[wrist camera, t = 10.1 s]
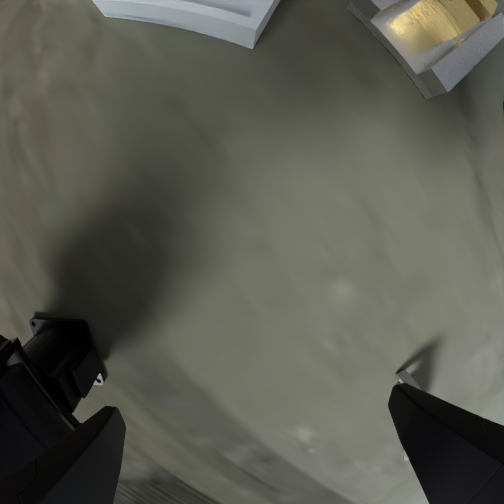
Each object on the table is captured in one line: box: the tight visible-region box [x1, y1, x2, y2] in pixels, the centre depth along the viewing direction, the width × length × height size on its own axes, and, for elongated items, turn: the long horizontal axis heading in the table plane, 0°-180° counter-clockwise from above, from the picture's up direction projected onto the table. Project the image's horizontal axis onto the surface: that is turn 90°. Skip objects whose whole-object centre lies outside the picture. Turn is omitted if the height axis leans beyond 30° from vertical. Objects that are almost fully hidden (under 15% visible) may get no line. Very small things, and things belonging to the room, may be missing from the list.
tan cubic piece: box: [408, 0, 480, 45], centre depth 13 cm, size 4×4×4 cm
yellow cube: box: [464, 0, 498, 23], centre depth 12 cm, size 4×4×4 cm
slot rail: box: [346, 0, 504, 99], centre depth 14 cm, size 20×10×3 cm, turn 132°
